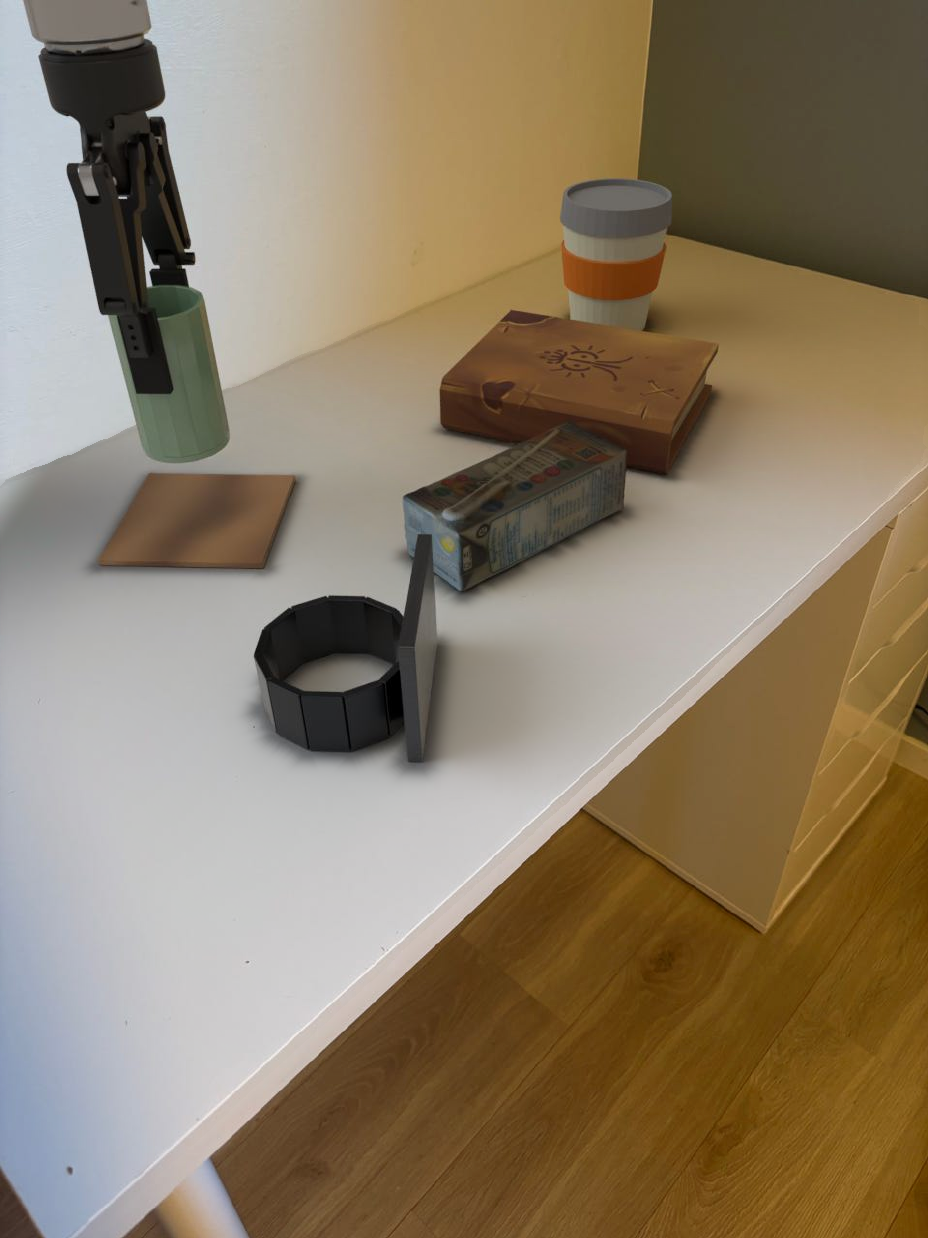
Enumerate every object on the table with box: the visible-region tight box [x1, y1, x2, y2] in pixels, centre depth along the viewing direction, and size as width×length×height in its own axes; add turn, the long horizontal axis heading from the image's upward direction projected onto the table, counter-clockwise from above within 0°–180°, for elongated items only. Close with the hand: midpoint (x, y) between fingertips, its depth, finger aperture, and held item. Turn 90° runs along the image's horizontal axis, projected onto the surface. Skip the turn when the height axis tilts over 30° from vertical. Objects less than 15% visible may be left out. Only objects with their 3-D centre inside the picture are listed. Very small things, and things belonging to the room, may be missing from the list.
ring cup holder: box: [253, 534, 438, 763], centre depth 67 cm, size 12×12×10 cm
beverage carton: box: [402, 421, 627, 592], centre depth 84 cm, size 8×19×7 cm, turn 129°
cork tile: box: [97, 472, 296, 569], centre depth 88 cm, size 14×14×1 cm
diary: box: [439, 309, 720, 475], centre depth 101 cm, size 23×19×6 cm
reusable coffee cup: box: [559, 177, 673, 331], centre depth 115 cm, size 13×12×15 cm
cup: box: [107, 285, 231, 464], centre depth 80 cm, size 7×7×12 cm
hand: (170, 368), depth 79 cm, fingers closed on cup, 7 cm apart
